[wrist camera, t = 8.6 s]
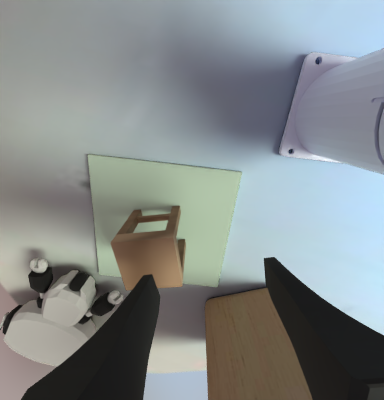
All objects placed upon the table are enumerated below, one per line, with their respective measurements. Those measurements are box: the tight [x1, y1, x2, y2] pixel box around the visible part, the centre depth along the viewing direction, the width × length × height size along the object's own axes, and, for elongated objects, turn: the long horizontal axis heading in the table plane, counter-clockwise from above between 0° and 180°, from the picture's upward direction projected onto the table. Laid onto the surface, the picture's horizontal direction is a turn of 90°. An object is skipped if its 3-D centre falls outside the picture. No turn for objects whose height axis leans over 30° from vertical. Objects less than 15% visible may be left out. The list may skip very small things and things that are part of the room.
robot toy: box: [0, 258, 123, 366], centre depth 25 cm, size 12×4×15 cm
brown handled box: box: [110, 206, 186, 290], centre depth 19 cm, size 5×5×6 cm
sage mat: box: [88, 154, 242, 287], centre depth 22 cm, size 15×15×1 cm
